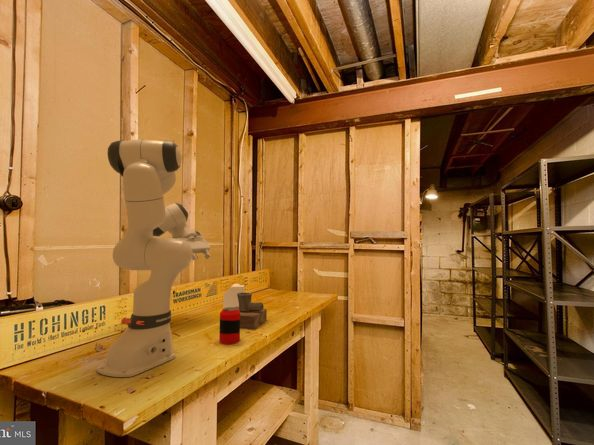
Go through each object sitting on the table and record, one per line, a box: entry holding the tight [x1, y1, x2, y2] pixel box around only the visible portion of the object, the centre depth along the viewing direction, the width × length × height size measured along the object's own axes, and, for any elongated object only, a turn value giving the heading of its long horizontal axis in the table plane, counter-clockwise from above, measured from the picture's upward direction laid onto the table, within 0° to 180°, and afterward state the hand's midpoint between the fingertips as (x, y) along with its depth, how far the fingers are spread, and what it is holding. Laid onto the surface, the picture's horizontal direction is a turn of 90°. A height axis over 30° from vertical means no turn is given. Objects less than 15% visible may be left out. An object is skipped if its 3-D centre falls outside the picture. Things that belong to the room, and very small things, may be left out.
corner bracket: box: [222, 283, 245, 308], centre depth 165 cm, size 11×11×12 cm
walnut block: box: [235, 307, 268, 331], centre depth 133 cm, size 14×16×6 cm
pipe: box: [237, 292, 265, 312], centre depth 133 cm, size 6×13×8 cm, turn 76°
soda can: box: [218, 307, 241, 345], centre depth 110 cm, size 8×8×12 cm
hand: (202, 258), depth 133 cm, fingers open, 8 cm apart
